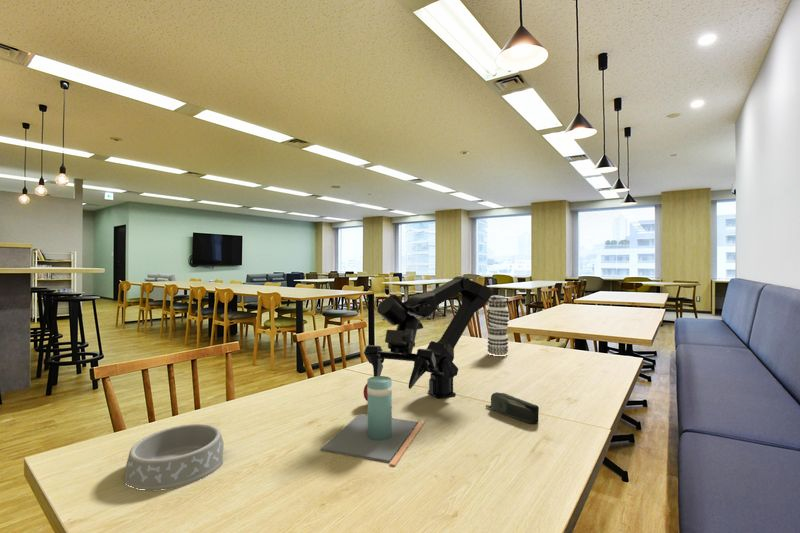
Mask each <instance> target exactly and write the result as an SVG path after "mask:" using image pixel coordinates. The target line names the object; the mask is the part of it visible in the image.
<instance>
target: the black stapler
mask: <svg viewBox="0 0 800 533" xmlns="http://www.w3.org/2000/svg"><path fill="white" fill-rule="evenodd" d="M485 407H486V408H488V409H490V410H493V411H496V412H498V413H501V414H503V415H506V416H508V417H511V418H514V419H516V420H518V421H521V422H523V423H526V424H531V425H535V424H538V423H539V412H540V411H539V409H540V408H539V406H538V405H537V404H533V403H531V402H529V401H526V400H524V399H520V398H518V397H514V396H513V395H510V394H507V393H505V392H499V391H498V392H497V391H496V392H494V393H492V394H491V396H490V404H489V405H488V404H486V405H485Z"/></svg>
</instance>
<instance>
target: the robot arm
mask: <svg viewBox="0 0 800 533" xmlns="http://www.w3.org/2000/svg"><path fill="white" fill-rule="evenodd" d="M458 294H459V295H461V299H460V301H461V305H459V308H458V310H457V311H456V313H455V315H454V316H453V318H451V321H450V323H449V324H448V325H447V327H446V329H445V331H444V333H443V334H442V335H441V337H440V338H439V340H437V341H434V340H431V341H430V342H429V343H428V346H427V348H418V349H417V350H416V351H417V352H416V353H412V352H413V349H414V347H415V346H416V343H415V341H416V336H417V332H418V330H421V329H423V328H424V325H423V323H421V320H420V319H418V318H417V317H420V318H428V317H430V316H431V315H432V314H433V313H435V312H436V311H437V309H438V306H440V305H441V304H442V303H444V302H446V301H447V300H449V299H451V298H453V297H454V296H456V295H458ZM490 297H491V291H490V289H489V287H488V286H487V285H485V284H483V285H482V284H481V283H478V282H475V281H473V280H471V279H470V278H468V277H466V276H455V277H453V278H452V279H451V280H448V281H447V282H445V283H444V284H442V285H439V286H438V287H436V288H433V289H432V290H430V291H428V292H423V293H418V294H415V295H411V296H408V298H407V300H405V301H402V300H401V299H400V298H399V296H398V295H396V294H394V293H391V294H390V295H389V297H386V298H385V299H383V300H382V301H381V302H380V303H379V304H378V306H377V310H376V311H377V313H378V314H379V315H380V316H381V317H382V318H383V319H385V321H386V322H387V323H389V324H390V325H391V326H396V325H397V326H396V328H395V329H386V332H385V338H384V342H385V343H386V344H387V348H388V349H390V351H386V350H385V351H384V350H383V349H382V347H381V345H373V344H372V345H371V344H368V345H367V346H366V347H365V348H364V351H363V354H364V356H365V358H366V360H367V361H368V363H369V364H371V366H372V369H373V370H372V371H373V377H375V376H382V371H383V368H384V365H383V363H384V362H385V359H386V360H394V361H395V360H396V361H406V362H414V363H413V367H412V371H411V374H410V379H409V382H408V389H409V390H411V389H412V388H413V387H414V385H415V384H416V382H418V380H419V379H420V378H421V377H422V376H423V375H424V374H425V373H426V372H427V373H430V378H429V379H428V389H427V392H428V394H430V395H432V396H433V397H434V398H436V399H441V398H449V397H454V396H457V393H456V392H454V377H456V376H457V375H458V371H459V367H458V366H457V365H456V364H455V363H454V362H453V361H454V359H455V348H456V346H457V344H458V343H459V340H460V339H461V337H462V335H463V333H464V332H465V330H466V328H467V326H468V325H469V323H470V321H471V319H472V318H473V316H474V315H475V313H476V312H478V311H479V310H481V309H482V308H484V307H485V306H486V304H487V303H489V299H490Z"/></svg>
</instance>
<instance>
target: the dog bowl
mask: <svg viewBox="0 0 800 533" xmlns="http://www.w3.org/2000/svg"><path fill="white" fill-rule="evenodd" d="M224 444H225V443H224V439H223V437H222V433H221V430H220V429H219V428H217V427H216V426H214V425H211V424H205V423H202V424H201V423H191V424H189V423H188V424H182V425H178V426H177V425H176V426H173V427H172V426H171V427H168V428H165V429H161V430H158V431H156V432H154V433H150V434H149V435H147V436H145V437H143V438H141V439H140V440H138V441H137V442H136V443H135V444H134V445H133V446H132V447H131V448H130V450H129V452H128V458H127V459H126V460H127V461H126V465H125V474H124V484H125V483H126V484H127V485H129V486H132V487H134V488H138V489H145V490H161V489H169V490H172V489H171V488H174V489H177V488H182V487H184V486H188V485H190V484H194V483H196V482H199V481H201V480H203V479H205V478H207V477H209V476H210V475H212V474H213V473H215V472H216V471H217V470H218V469H220V468H221V467H222V466H223V464H224V461H223V459H224V458H223V457H224V456H223V455H224ZM208 475H209V476H208ZM206 476H207V477H206ZM200 479H201V480H200ZM126 484H125V485H126ZM127 485H126V486H127Z"/></svg>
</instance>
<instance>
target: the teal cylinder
mask: <svg viewBox="0 0 800 533" xmlns="http://www.w3.org/2000/svg"><path fill="white" fill-rule="evenodd" d="M366 380H367V383H366V384H367V394H368V401H367V415H368V437H369V438H370V439H372V440H377V441H381V440H386V439H389V438H390V437H391V436H392V418H393V417H392V415H393V413H392V412H393V411H392V407H393V406H392V402H393V399H392V398H393V397H392V393H393V386H392V383H393V382H392V378H391V377H389V376H384V375H380V376H375V377H374V376H371V377H368V378H367V379H366Z"/></svg>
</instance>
